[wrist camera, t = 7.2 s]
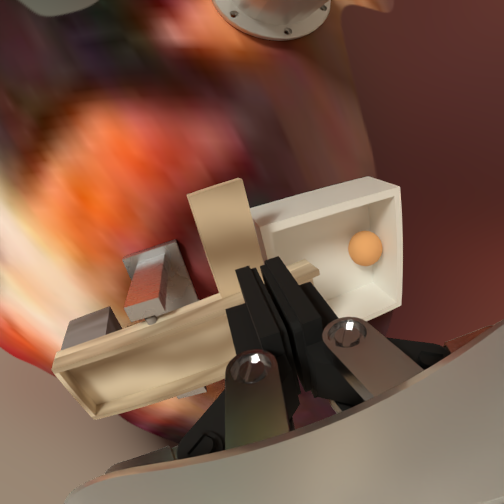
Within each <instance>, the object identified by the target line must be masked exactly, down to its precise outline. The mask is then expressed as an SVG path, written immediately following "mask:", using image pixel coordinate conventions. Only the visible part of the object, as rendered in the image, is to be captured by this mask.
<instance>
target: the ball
mask: <svg viewBox="0 0 504 504" xmlns="http://www.w3.org/2000/svg"><path fill="white" fill-rule="evenodd" d="M348 252H349V255H350V257H351V259H352V260H353V261H354V262H355V263H356V264H358V265H361V266H370V265H373V264H374V263H376V262H377V261H378V260H379V258H380V257H381V254H382V243H381V240H380V239H379V237H378V236H377V235H376V234H375V233H373V232H370V231H360V232H358V233H356V234H355V235H354V236H353V237H352V238H351V239H350V242H349V245H348Z"/></svg>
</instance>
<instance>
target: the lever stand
mask: <svg viewBox="0 0 504 504" xmlns="http://www.w3.org/2000/svg"><path fill="white" fill-rule="evenodd" d="M122 260H123V262H124V265H125V267H126V269H127V272H128V274H129V276H130V278H131V280H132V282H131V285H130V289H129V292H128V295H127V299H126V302H125V305H124V309H125V311H126V313H127V315H128V317H129V319H130V321H131V322H133V321H136V320H140V319H143V318H147V317H150V316H154V315H155V316H156V317H157V316H160V315H162V314H165V313H168V312H170V311H173V310H176V309H178V308H181V307H184V306H186V305H189V304H192V303H194V302H197V301H199V299H198V296H197V294H196V291H195V289H194V286H193V283H192V281H191V278H190V276H189V273H188V270H187V268H186V265H185V262H184V260H183V257H182V254H181V252H180V249H179V246H178V243H177V241H176V239H175V240H172V241H169V242H166V243H163V244H160V245H157V246H154V247H151V248H148V249H145V250H142V251H139V252H136V253H133V254H130V255H127V256H124V257H123V259H122ZM204 392H207V389H206V386H204V387H201V388H198V389H196V390H193V391H190V392H187V393H184V394H181V395H178V396H177V398H178V399H180V398H184V397H188V396H192V395H196V394H200V393H204Z"/></svg>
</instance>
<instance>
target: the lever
mask: <svg viewBox="0 0 504 504" xmlns="http://www.w3.org/2000/svg"><path fill="white" fill-rule="evenodd" d="M187 198H188V201H189V204H190V207H191V210H192V213H193V217H194V220H195V223H196V226H197V229H198V232H199V235H200V238H201V241H202V244H203V247H204V250H205V253H206V256H207V259H208V262H209V265H210V268H211V271H212V274H213V277H214V280H215V282H216V285H217V288H218V291H219V293H218V294H215V295H213V296H210V297H207V298H205V299H202V300H199V301H197V302H194V303H192V304H189V305H186V306H184V307H181V308H178V309H176V310H173V311H170V312H168V313H165V314H162V315H160V316H157V317H156V316H155V315H154V316H150V317H147V318H145V320H146V321H143V322H140V323H138V324H135V325H132V326H129V327H127V328H124V329H122V327H121V326H120V324H119V322H118V320H117V318H116V317H115V315H114V313H113V311H112V309H111V307H110V306H109V307H106V308H104V309H101V310H98V311H96V312H93V313H90V314H88V315H85V316H82V317H80V318H77V319H74V320H72V321H70V322H69V325H68V328H67V331H66V335H65V338H64V341H63V344H62V348H61V351H58V352H56V356H55V359H54V362H53V366H52V369H51V370H52V371H53V373H54V374H55V375H56V376H57V378H58V379H59V380H60V381H61V383H62V384H63V385H64V386H65V388H66V389H67V390H68V391H69V392H70V393H71V395H72V396H73V397H74V398H75V399H76V400H77V401H78V403H79V404H80V405H81V406H82V407H83V408H84V409H85V410H86V411H87V413H88V414H89V415H90V416H91V417H92V418H93V419H94V420H96V419H100V418H104V417H108V416H112V415H116V414H120V413H123V412H127V411H130V410H134V409H137V408H141V407H144V406H147V405H151V404H154V403H157V402H160V401H163V400H166V399H169V398H173V397H176V396H178V395H181V394H184V393H187V392H190V391H193V390H196V389H198V388H201V387H204V386H207V385H209V384H212V383H215V382H217V381H220V380H223V379H225V371H226V367H227V365H228V363H229V362H230V360H232V359H233V358H234V357H235V356H236V352H235V348H234V344H233V340H232V336H231V332H230V327H229V323H228V319H227V315H226V310H225V309H227V308H231V307H234V306H237V305H240V304H243V303H245V301H244V298H243V295H242V292H241V288H240V285H239V282H238V279H237V275H236V272H235V270H236V269H239V268H242V267H245V266H250V268H251V269H252V268H255V267H256V269H257V271H258V273H259V275H260V277H261V279H262V281H263V277H262V273H261V269H260V266H261V265H264V263H263V259H262V255H261V251H260V247H259V243H258V239H257V235H256V231H255V228H254V224H253V220H252V216H251V212H250V208H249V204H248V200H247V196H246V192H245V189H244V185H243V181H242V179H240V178H236V179H233V180H230V181H227V182H223V183H220V184H217V185H214V186H211V187H208V188H205V189H202V190H199V191H196V192H193V193H190V194H187ZM286 267H287V269H288V270H289V271H290V273H291V274H292V276H293V277H294V279H295V280H296V281H297V283H298V284H299V285H301V284H304V283H307V282H311V283H312V284H313V285H314V283H313V278H314V277H316V276H319V275H320V272H319V269H318V268H316V267H315V266H314V265H312V264H311V263H310V262H308V261H307V260H305V259H303V260H301V261H298V262H296V263H293V264H291V265H288V266H286ZM263 283H264V281H263Z"/></svg>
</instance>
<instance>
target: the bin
mask: <svg viewBox="0 0 504 504" xmlns="http://www.w3.org/2000/svg"><path fill="white" fill-rule="evenodd" d="M250 212H251V216H252V220H253V224H254V228H255V231H256V235H257V239H258V243H259V247H260V251H261V255H262V259H263V263H264V261H265V260H268V259H271V258H274V257H277V256H279V257H280V259H281V260H282V261H283V263H284V264H285V266H288V265H291V264H293V263H296V262H298V261H301V260H303V259H305V260H307V261H308V262H310V263H311V264H312V265H314V266H315V267H316V268H318V269H319V272H320V275H319V276H316V277H314V278H313V283H314V287H315V288H316V289H317V291H318V292H319V293H320V294H321V296H322V297H323V298H324V300H325V301H326V302H327V304H328V305H329V306H330V307H331V309H332V310H333V311H334V313H335V314H336V315H337V317H338V318H342V317H357V318H360V319H363V320H364V321H369V320H371V319H373V318H375V317H377V316H380V315H382V314H384V313H386V312H388V311H391V310H393V309H395V308H397V307H399V306H401V300H402V276H403V238H402V237H403V235H402V210H401V195H400V186H396V185H394V184H390V183H387V182H384V181H381V180H378V179H375V178H372V177H368V176H367V177H363V178H359V179H355V180H351V181H348V182H344V183H340V184H336V185H332V186H328V187H325V188H321V189H317V190H313V191H310V192H306V193H302V194H299V195H295V196H292V197H288V198H284V199H281V200H277V201H274V202H270V203H267V204H263V205H260V206H257V207H253V208H250ZM360 231H370V232H373V233H375V234H376V235H377V236H378V237H379V239H380V240H381V243H382V254H381V257H380V258H379V260H378V261H377V262H376V263H374V264H373V265H370V266H361V265H358V264H356V263H355V262H354V261H353V260H352V259H351V257H350V255H349V252H348V245H349V242H350V239H351V238H352V237H353V236H354V235H355V234H356V233H358V232H360ZM264 265H265V263H264Z"/></svg>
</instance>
